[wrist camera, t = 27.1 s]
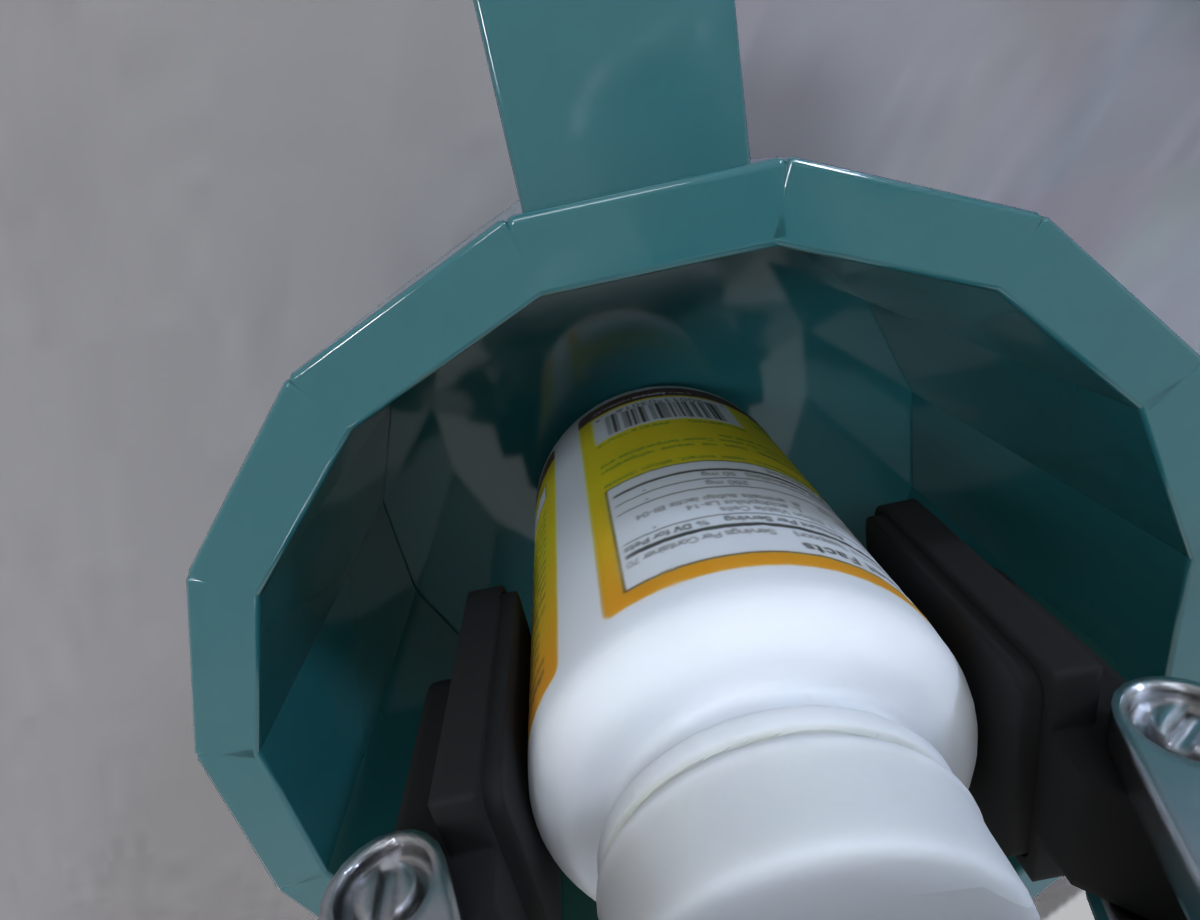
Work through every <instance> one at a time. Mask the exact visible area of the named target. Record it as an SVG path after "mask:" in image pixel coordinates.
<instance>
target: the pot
mask: <svg viewBox="0 0 1200 920" xmlns="http://www.w3.org/2000/svg"><path fill="white" fill-rule="evenodd" d="M473 2H474V6H475V10H476V15H477V19H478V23H479V28H480V32H481V36H482V41H483V45H484V49H485V53H486V58H487V62H488V66H489V71H490V75H491V79H492V84H493V88H494V92H495V97H496V101H497V105H498V109H499V114H500V118H501V122H502V127H503V131H504V135H505V140H506V144H507V148H508V152H509V157H510V161H511V165H512V170H513V174H514V178H515V183H516V187H517V191H518V195H519V200H518V201H517V202H515V203H514V204H513V205H511V206H510V207H509V208H507V209H506V210H505V211H503V212H502V213H501V214H499V215H498V216H497V217H495V218H494V219H493V220H491V221H490V222H489V223H487V224H486V225H484V226H483V227H482V228H480V229H479V230H478V231H476V232H475V233H474V234H472V235H471V236H470V237H468V238H467V239H466V240H464V241H463V242H462V243H460V244H459V245H458V246H456V247H455V248H453V249H452V250H451V251H449V252H448V253H447V254H445V255H444V256H443V257H441V258H440V259H439V260H437V261H436V262H435V263H433V264H432V265H431V266H429V267H428V268H427V269H425V270H424V271H422V272H421V273H420V274H418V275H417V276H416V277H414V278H413V279H412V280H411V281H409V282H408V283H407V284H406V285H404V286H403V287H402V288H400V289H399V290H398V291H397V292H395V293H394V294H393V295H391V296H390V297H389V298H388V299H386V300H385V301H384V302H383V303H381V304H380V305H379V306H377V307H376V308H375V309H374V310H372V311H371V312H370V313H368V314H367V315H366V316H365V317H363V318H362V319H361V320H359V321H358V322H357V323H356V324H354V325H353V326H352V327H351V328H349V329H348V330H347V331H345V332H344V333H343V334H342V335H340V336H339V337H338V338H336V339H335V340H334V341H333V342H331V343H330V344H329V345H328V346H326V347H325V348H324V349H322V350H321V351H320V352H319V353H317V354H316V355H315V356H313V357H312V358H311V359H310V360H308V361H307V362H306V363H305V364H303V365H302V366H301V367H299V368H298V369H297V370H296V371H294V372H293V373H292V374H291V376H290V378H289V379H288V380H287V381H285V382H284V383H283V385H282V387H281V389H280V391H279V393H278V395H277V397H276V399H275V401H274V403H273V405H272V407H271V409H270V411H269V413H268V415H267V417H266V419H265V421H264V423H263V425H262V427H261V429H260V431H259V433H258V435H257V437H256V439H255V441H254V443H253V445H252V446H251V448H250V450H249V452H248V454H247V456H246V458H245V460H244V462H243V464H242V466H241V468H240V470H239V472H238V474H237V476H236V478H235V480H234V482H233V484H232V486H231V488H230V490H229V492H228V494H227V496H226V498H225V500H224V502H223V504H222V506H221V508H220V509H219V511H218V513H217V515H216V517H215V519H214V521H213V523H212V525H211V527H210V529H209V531H208V533H207V535H206V537H205V539H204V541H203V543H202V545H201V547H200V549H199V551H198V553H197V555H196V557H195V559H194V561H193V563H192V565H191V567H190V569H189V575H188V577H187V579H186V584H187V605H188V625H189V645H190V666H191V686H192V706H193V726H194V747H195V753H196V754H198V755H197V756H198V760H199V762H200V763H201V765H202V766H203V768H204V770H205V771H206V773H207V775H208V776H209V778H210V779H211V781H212V783H213V784H214V786H215V788H216V789H217V791H218V792H219V794H220V796H221V797H222V799H223V801H224V802H225V804H226V805H227V807H228V809H229V810H230V812H231V814H232V815H233V817H234V818H235V820H236V822H237V823H238V825H239V827H240V828H241V830H242V831H243V833H244V835H245V836H246V838H247V840H248V841H249V843H250V844H251V846H252V848H253V849H254V851H255V853H256V854H257V856H258V857H259V859H260V861H261V862H262V864H263V865H264V867H265V869H266V870H267V872H268V874H269V875H270V877H271V878H272V880H273V882H274V883H275V885H276V887H278V888H280V890H281V892H282V893H284V894H285V895H287V896H288V897H290V898H291V899H292V900H294V901H295V902H297V903H298V904H300V905H301V906H302V907H304V908H305V909H307V910H308V911H310V912H311V913H313V914H314V915H315V916H317V917H318V918H319V911H320V904H321V900H322V898H323V896H324V893H325V891H326V889H327V886H328V884H329V882H330V881H331V879H332V878H333V876H334V875H335V874H336V872H337V871H338V869H339V868H340V867H341V865H342V864H343V863H344V862H345V861H346V860H347V859H348V858H349V857H350V856H351V855H352V854H353V853H354V852H355V851H357V850H358V849H359V848H360V847H362V846H363V845H365V844H367V843H368V842H370V841H371V840H373V839H374V838H376V837H378V836H381V835H384V834H386V833H389V832H392V831H395V828H396V824H397V819H398V815H399V811H400V806H401V802H402V798H403V794H404V789H405V785H406V781H407V776H408V772H409V768H410V763H411V759H412V755H413V751H414V746H415V742H416V738H417V733H418V729H419V725H420V721H421V716H422V712H423V708H424V703H425V699H426V695H427V692H428V689H429V686H430V685H431V684H432V683H433V682H437V681H442V680H447V679H452V674H453V668H454V663H455V658H456V653H457V647H458V642H459V637H460V632H461V626H462V621H463V616H464V611H465V606H466V600H467V596H468V593H469V592H471V591H475V590H480V589H485V588H490V587H494V586H499V585H503V586H504V588H505V589H506V592H507V593H509V592H514V591H517V592H518V594H519V597H520V600H521V603H522V606H523V610H524V613H525V616H526V620H527V623H528V626H529V630H530V633H532V607H533V574H534V552H535V512H536V499H537V491H538V485H539V480H540V477H541V473H542V471H543V468H544V465H545V463H546V461H547V459H548V456H549V455H550V453H551V451H552V449H553V447H554V446H555V444H556V443H557V442H558V440H559V439H560V438H561V436H562V435H563V434H564V433H565V431H566V430H567V429H568V428H569V427H570V426H571V425H572V424H573V423H574V422H575V421H576V420H577V419H579V418H580V417H581V416H582V415H584V414H585V413H586V412H588V411H589V410H590V409H592V408H593V407H595V406H596V405H598V404H600V403H602V402H604V401H605V400H608V399H610V398H612V397H614V396H616V395H619V394H622V393H625V392H628V391H631V390H636V389H640V388H645V387H652V386H682V387H689V388H695V389H699V390H703V391H706V392H709V393H712V394H714V395H717V396H719V397H721V398H723V399H725V400H727V401H729V402H731V403H733V404H734V405H736V406H737V407H739V408H740V409H742V410H743V411H744V412H745V413H747V414H748V415H749V416H750V417H752V418H753V419H754V420H755V421H756V422H757V423H758V424H759V425H760V426H761V427H762V428H763V429H764V430H765V432H766V433H767V434H768V435H769V437H770V438H771V439H772V440H773V441H774V443H775V444H776V445H777V446H778V447H779V448H780V449H781V451H782V452H783V453H784V454H785V455H786V457H787V458H788V459H789V460H790V461H791V462H792V463H793V465H794V466H795V467H796V468H797V469H798V471H799V472H800V473H801V474H802V475H803V476H804V478H805V479H806V480H807V481H808V482H809V483H810V484H811V486H812V487H813V488H814V489H815V490H816V491H817V492H818V494H819V495H820V496H821V497H822V498H823V499H824V501H825V502H826V503H827V504H828V505H829V506H830V508H831V509H832V510H833V511H834V513H835V514H836V515H837V516H838V517H839V518H840V520H841V521H842V522H843V523H844V524H845V526H846V527H847V528H848V529H849V530H850V531H851V533H852V534H853V535H854V536H855V537H856V538H857V540H858V541H859V542H860V543H861V544H862V545H863V547H864V548H865V549H866V519H867V518H868V517H870V516H875V510H876V508H877V507H878V506H879V505H884V504H889V503H894V502H898V501H903V500H908V499H916V500H917V501H919V502H920V503H921V504H922V505H923V506H924V507H926V508H927V509H928V510H929V511H930V512H931V513H932V514H933V515H934V516H936V517H937V518H938V519H939V520H940V521H941V522H942V523H943V524H945V525H946V526H947V527H948V528H949V529H950V530H951V531H952V532H954V533H955V534H956V535H957V536H958V537H959V538H960V539H961V540H963V541H964V542H965V543H966V544H967V545H968V546H969V547H970V548H971V549H973V550H974V551H975V552H976V553H977V554H978V555H979V556H980V557H982V558H983V559H984V560H985V561H986V562H987V563H988V564H989V565H991V566H992V567H994V568H997V569H999V570H1000V571H1002V572H1003V573H1005V574H1006V575H1007V576H1008V577H1009V578H1011V579H1012V580H1013V581H1014V582H1015V583H1016V584H1017V585H1018V586H1020V587H1021V588H1022V589H1023V590H1024V591H1025V592H1026V593H1028V594H1029V595H1030V596H1031V597H1032V598H1033V599H1034V600H1035V601H1037V602H1038V603H1039V604H1040V605H1041V606H1042V607H1043V608H1045V609H1046V610H1047V611H1048V612H1049V613H1050V614H1051V615H1052V616H1054V617H1055V618H1056V619H1057V620H1058V621H1059V622H1060V623H1062V624H1063V625H1064V626H1065V627H1066V628H1067V629H1068V630H1070V631H1071V632H1072V633H1073V634H1074V635H1075V636H1076V637H1077V638H1079V639H1080V640H1081V641H1082V642H1083V643H1084V644H1085V645H1087V646H1088V647H1089V648H1090V649H1091V650H1092V651H1093V652H1094V653H1096V654H1097V655H1098V656H1099V657H1100V658H1101V659H1102V660H1104V661H1105V662H1106V663H1107V664H1108V665H1109V666H1110V667H1111V668H1113V669H1114V670H1115V671H1116V672H1117V673H1118V674H1119V675H1121V676H1122V677H1123V678H1124V679H1125V680H1126V681H1127V682H1128V681H1131V680H1134V679H1137V678H1140V677H1151V676H1168V677H1176V678H1184V679H1189V680H1192V681H1196V682H1200V355H1199V354H1198V353H1197V352H1195V351H1194V350H1193V349H1192V348H1191V347H1190V346H1189V345H1188V344H1187V343H1186V342H1184V341H1183V340H1182V339H1181V338H1180V337H1179V336H1178V335H1177V334H1176V333H1175V332H1173V331H1172V330H1171V329H1170V328H1169V327H1168V326H1167V325H1166V324H1165V323H1164V322H1162V321H1161V320H1160V319H1159V318H1158V317H1157V316H1156V315H1155V314H1154V313H1153V312H1151V311H1150V310H1149V309H1148V308H1147V307H1146V306H1145V305H1144V304H1143V303H1141V302H1140V301H1139V300H1138V299H1137V298H1136V297H1135V296H1134V295H1133V294H1132V293H1130V292H1129V291H1128V290H1127V289H1126V288H1125V287H1124V286H1123V285H1122V284H1121V283H1119V282H1118V281H1117V280H1116V279H1115V278H1114V277H1113V276H1112V275H1111V274H1110V273H1108V272H1107V271H1106V270H1105V269H1104V268H1103V267H1102V266H1101V265H1100V264H1099V263H1097V262H1096V261H1095V260H1094V259H1093V258H1092V257H1091V256H1090V255H1089V254H1088V253H1086V252H1085V251H1084V250H1083V249H1082V248H1081V247H1080V246H1079V245H1078V244H1077V243H1075V242H1074V241H1073V240H1072V239H1071V238H1070V237H1069V236H1068V235H1067V234H1066V233H1064V232H1063V231H1062V230H1061V229H1060V228H1059V227H1058V226H1057V225H1056V224H1055V223H1053V222H1052V221H1051V220H1050V219H1049V218H1047V217H1042V216H1040V215H1039V214H1038V213H1037V212H1033V211H1029V210H1024V209H1020V208H1016V207H1011V206H1007V205H1003V204H998V203H994V202H989V201H985V200H981V199H976V198H972V197H968V196H963V195H959V194H955V193H950V192H946V191H941V190H937V189H933V188H928V187H924V186H920V185H915V184H911V183H907V182H902V181H898V180H893V179H889V178H885V177H880V176H876V175H872V174H867V173H863V172H858V171H854V170H850V169H845V168H841V167H837V166H832V165H828V164H824V163H819V162H815V161H810V160H806V159H802V158H797V157H783V158H778V157H772V158H757V159H750V153H749V142H748V132H747V122H746V112H745V101H744V91H743V81H742V71H741V60H740V50H739V40H738V30H737V19H736V9H735V0H473ZM1007 859H1008V860H1009V862H1010V863H1011V865H1012V866H1013V868H1014V870H1015V871H1016V873H1017V874H1018V876H1019V877H1020V879H1021V880H1022V882H1023V884H1024V885H1025V887H1026V888H1027V890H1028V891H1029V894H1030V896H1031V898H1032V899H1033V898H1035V897H1036V896H1037V895H1038V894H1040V893H1041V892H1042V891H1043V890H1045V889H1046V888H1047V887H1049V886H1050V885H1051V884H1052V883H1054V882H1055V881H1056V880H1057V879H1059V878H1060V877H1061V876H1060V877H1055V878H1050V879H1045V880H1040V881H1035V882H1032V881H1031V879H1030V878H1029V876H1028V875H1027V873H1026V872H1025V870H1024V869H1023V868H1022V866H1021V865H1020V863H1019V862H1018V860H1017V859H1016V857H1015V856H1010V857H1007ZM560 879H561V920H599V919H598V915H597V904H596V901H594V900H593V899H592V898H590V897H589V896H588V895H586V894H585V893H584V892H583V891H582V890H581V889H579V888H578V887H577V886H576V885H575V884H574V883H573V882H572V881H571V880H570V879H569V878H568V877H567V876H566V875H565V874H564V872H563V871H562V870H561V869H560Z"/></svg>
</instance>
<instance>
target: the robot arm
mask: <svg viewBox="0 0 1200 920" xmlns="http://www.w3.org/2000/svg"><path fill="white" fill-rule="evenodd" d="M866 550H867V551H868V552H869V554H870V555H871V556H872V557H873V558H874V559H875V561H876V562H877V563H878V564H879V565H880V566H881V567H882V569H883V570H884V571H885V572H886V573H887V574H888V575H889V577H890V578H891V579H892V580H893V581H894V582H895V583H896V584H897V585H898V586H899V588H900V589H901V590H902V592H903V593H904V594H905V595H906V596H907V597H908V598H909V599H910V600H911V602H912V603H913V604H914V605H915V606H916V607H917V609H918V610H919V611H920V612H921V613H922V614H923V615H924V616H925V617H926V618H927V620H928V621H929V622H930V624H931V625H932V626H933V628H934V629H935V631H936V632H937V633H938V635H939V636H940V637H941V639H942V640H943V642H944V643H945V644H946V645H947V647H948V648H949V650H950V651H951V653H952V654H953V655H954V657H955V658H956V660H957V662H958V664H959V666H960V668H961V669H962V671H963V674H964V676H965V678H966V681H967V683H968V686H969V689H970V692H971V695H972V698H973V701H974V705H975V711H976V718H977V724H978V745H977V758H976V764H975V768H974V772H973V776H972V780H971V783H970V786H969V789H968V790H969V791H970V793H971V795H972V796H973V798H974V800H975V802H976V804H977V805H978V807H979V809H980V811H981V814H982V816H983V820H984V822H985V824H986V826H987V827H988V829H989V831H990V833H991V834H992V836H993V837H994V839H995V840H996V842H997V843H998V845H999V846H1000V848H1001V849H1002V851H1003V853H1004V854H1005V856H1006V857H1010V856H1015V857H1016V859H1017V860H1018V862H1019V863H1020V865H1021V866H1022V868H1023V869H1024V870H1025V872H1026V873H1027V875H1028V876H1029V878H1030V879H1031V881H1032V882H1035V881H1040V880H1045V879H1050V878H1055V877H1060V876H1066V877H1067V879H1068V880H1069V882H1070V883H1071V884H1072V885H1074V886H1076V887H1078V888H1080V889H1083V890H1085V891H1086V896H1087V900H1088V902H1089V905H1090V908H1091V910H1092V913H1093V916H1094V919H1095V920H1200V682H1196V681H1192V680H1189V679H1184V678H1176V677H1168V676H1151V677H1140V678H1137V679H1134V680H1131V681H1128V682H1127V681H1126V680H1125V679H1124V678H1123V677H1122V676H1121V675H1119V674H1118V673H1117V672H1116V671H1115V670H1114V669H1113V668H1111V667H1110V666H1109V665H1108V664H1107V663H1106V662H1105V661H1104V660H1102V659H1101V658H1100V657H1099V656H1098V655H1097V654H1096V653H1094V652H1093V651H1092V650H1091V649H1090V648H1089V647H1088V646H1087V645H1085V644H1084V643H1083V642H1082V641H1081V640H1080V639H1079V638H1077V637H1076V636H1075V635H1074V634H1073V633H1072V632H1071V631H1070V630H1068V629H1067V628H1066V627H1065V626H1064V625H1063V624H1062V623H1060V622H1059V621H1058V620H1057V619H1056V618H1055V617H1054V616H1052V615H1051V614H1050V613H1049V612H1048V611H1047V610H1046V609H1045V608H1043V607H1042V606H1041V605H1040V604H1039V603H1038V602H1037V601H1035V600H1034V599H1033V598H1032V597H1031V596H1030V595H1029V594H1028V593H1026V592H1025V591H1024V590H1023V589H1022V588H1021V587H1020V586H1018V585H1017V584H1016V583H1015V582H1014V581H1013V580H1012V579H1011V578H1009V577H1008V576H1007V575H1006V574H1005V573H1003V572H1002V571H1000V570H999V569H997V568H994V567H992V566H991V565H989V564H988V563H987V562H986V561H985V560H984V559H983V558H982V557H980V556H979V555H978V554H977V553H976V552H975V551H974V550H973V549H971V548H970V547H969V546H968V545H967V544H966V543H965V542H964V541H963V540H961V539H960V538H959V537H958V536H957V535H956V534H955V533H954V532H952V531H951V530H950V529H949V528H948V527H947V526H946V525H945V524H943V523H942V522H941V521H940V520H939V519H938V518H937V517H936V516H934V515H933V514H932V513H931V512H930V511H929V510H928V509H927V508H926V507H924V506H923V505H922V504H921V503H920V502H919V501H917V500H916V499H908V500H903V501H898V502H894V503H889V504H884V505H879V506H878V507H877V508H876V510H875V516H870V517H868V518H867V519H866ZM530 657H531V633H530V630H529V626H528V623H527V620H526V616H525V613H524V610H523V606H522V603H521V600H520V597H519V594H518V592H517V591H514V592H509V593H507V592H506V589H505V588H504V586H503V585H499V586H494V587H490V588H485V589H480V590H475V591H471V592H469V593H468V596H467V600H466V606H465V611H464V616H463V621H462V626H461V632H460V637H459V642H458V647H457V653H456V658H455V663H454V668H453V674H452V679H447V680H442V681H437V682H433V683H432V684H431V685H430V686H429V689H428V692H427V695H426V699H425V703H424V708H423V712H422V716H421V721H420V725H419V729H418V733H417V738H416V742H415V746H414V751H413V755H412V759H411V763H410V768H409V772H408V776H407V781H406V785H405V789H404V794H403V798H402V802H401V806H400V811H399V815H398V819H397V824H396V828H395V831H392V832H389V833H386V834H384V835H381V836H378V837H376V838H374V839H373V840H371V841H370V842H368V843H367V844H365V845H363V846H362V847H360V848H359V849H358V850H357V851H355V852H354V853H353V854H352V855H351V856H350V857H349V858H348V859H347V860H346V861H345V862H344V863H343V864H342V865H341V867H340V868H339V869H338V871H337V872H336V874H335V875H334V876H333V878H332V879H331V881H330V882H329V884H328V886H327V889H326V891H325V893H324V896H323V898H322V900H321V904H320V911H319V919H318V920H561V879H560V867H559V866H558V865H557V863H556V862H555V861H554V859H553V857H552V856H551V854H550V853H549V851H548V849H547V848H546V846H545V844H544V842H543V840H542V838H541V836H540V833H539V831H538V828H537V825H536V823H535V819H534V816H533V812H532V808H531V803H530V797H529V785H528V717H529V692H530V690H529V682H530V667H531V666H530Z"/></svg>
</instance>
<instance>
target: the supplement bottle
mask: <svg viewBox="0 0 1200 920" xmlns="http://www.w3.org/2000/svg"><path fill="white" fill-rule="evenodd" d="M530 666H531V667H530V682H529V690H530V692H529V717H528V785H529V797H530V803H531V808H532V812H533V816H534V819H535V823H536V825H537V828H538V831H539V833H540V836H541V838H542V840H543V842H544V844H545V846H546V848H547V849H548V851H549V853H550V854H551V856H552V857H553V859H554V861H555V862H556V863H557V865H558V866H559V867H560V869H561V870H562V871H563V872H564V874H565V875H566V876H567V877H568V878H569V879H570V880H571V881H572V882H573V883H574V884H575V885H576V886H577V887H578V888H579V889H581V890H582V891H583V892H584V893H585V894H586V895H588V896H589V897H590V898H592V899H593V900H594V901H596V904H597V915H598V919H599V920H1040V916H1039V914H1038V912H1037V909H1036V907H1035V905H1034V903H1033V900H1032V898H1031V896H1030V894H1029V891H1028V890H1027V888H1026V887H1025V885H1024V884H1023V882H1022V880H1021V879H1020V877H1019V876H1018V874H1017V873H1016V871H1015V870H1014V868H1013V866H1012V865H1011V863H1010V862H1009V860H1008V859H1007V857H1006V856H1005V854H1004V853H1003V851H1002V849H1001V848H1000V846H999V845H998V843H997V842H996V840H995V839H994V837H993V836H992V834H991V833H990V831H989V829H988V827H987V826H986V824H985V822H984V820H983V816H982V814H981V811H980V809H979V807H978V805H977V804H976V802H975V800H974V798H973V796H972V795H971V793H970V791H969V790H968V789H969V786H970V783H971V780H972V776H973V772H974V768H975V764H976V758H977V745H978V724H977V718H976V711H975V705H974V701H973V698H972V695H971V692H970V689H969V686H968V683H967V681H966V678H965V676H964V674H963V671H962V669H961V668H960V666H959V664H958V662H957V660H956V658H955V657H954V655H953V654H952V653H951V651H950V650H949V648H948V647H947V645H946V644H945V643H944V642H943V640H942V639H941V637H940V636H939V635H938V633H937V632H936V631H935V629H934V628H933V626H932V625H931V624H930V622H929V621H928V620H927V618H926V617H925V616H924V615H923V614H922V613H921V612H920V611H919V610H918V609H917V607H916V606H915V605H914V604H913V603H912V602H911V600H910V599H909V598H908V597H907V596H906V595H905V594H904V593H903V592H902V590H901V589H900V588H899V586H898V585H897V584H896V583H895V582H894V581H893V580H892V579H891V578H890V577H889V575H888V574H887V573H886V572H885V571H884V570H883V569H882V567H881V566H880V565H879V564H878V563H877V562H876V561H875V559H874V558H873V557H872V556H871V555H870V554H869V552H868V551H867V550H866V549H865V548H864V547H863V545H862V544H861V543H860V542H859V541H858V540H857V538H856V537H855V536H854V535H853V534H852V533H851V531H850V530H849V529H848V528H847V527H846V526H845V524H844V523H843V522H842V521H841V520H840V518H839V517H838V516H837V515H836V514H835V513H834V511H833V510H832V509H831V508H830V506H829V505H828V504H827V503H826V502H825V501H824V499H823V498H822V497H821V496H820V495H819V494H818V492H817V491H816V490H815V489H814V488H813V487H812V486H811V484H810V483H809V482H808V481H807V480H806V479H805V478H804V476H803V475H802V474H801V473H800V472H799V471H798V469H797V468H796V467H795V466H794V465H793V463H792V462H791V461H790V460H789V459H788V458H787V457H786V455H785V454H784V453H783V452H782V451H781V449H780V448H779V447H778V446H777V445H776V444H775V443H774V441H773V440H772V439H771V438H770V437H769V435H768V434H767V433H766V432H765V430H764V429H763V428H762V427H761V426H760V425H759V424H758V423H757V422H756V421H755V420H754V419H753V418H752V417H750V416H749V415H748V414H747V413H745V412H744V411H743V410H742V409H740V408H739V407H737V406H736V405H734V404H733V403H731V402H729V401H727V400H725V399H723V398H721V397H719V396H717V395H714V394H712V393H709V392H706V391H703V390H699V389H695V388H689V387H682V386H652V387H645V388H640V389H636V390H631V391H628V392H625V393H622V394H619V395H616V396H614V397H612V398H610V399H608V400H605V401H604V402H602V403H600V404H598V405H596V406H595V407H593V408H592V409H590V410H589V411H588V412H586V413H585V414H584V415H582V416H581V417H580V418H579V419H577V420H576V421H575V422H574V423H573V424H572V425H571V426H570V427H569V428H568V429H567V430H566V431H565V433H564V434H563V435H562V436H561V438H560V439H559V440H558V442H557V443H556V444H555V446H554V447H553V449H552V451H551V453H550V455H549V456H548V459H547V461H546V463H545V465H544V468H543V471H542V473H541V477H540V480H539V485H538V491H537V499H536V512H535V552H534V574H533V607H532V633H531V657H530Z"/></svg>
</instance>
